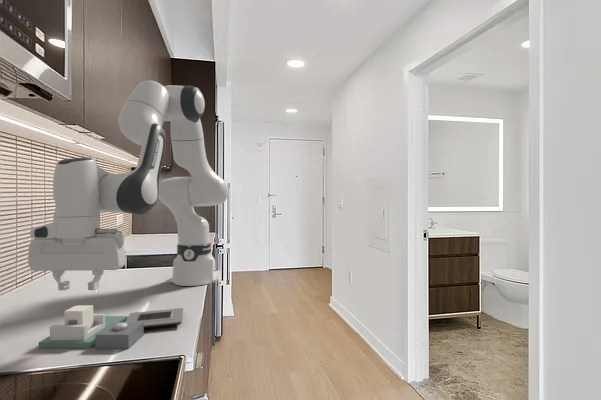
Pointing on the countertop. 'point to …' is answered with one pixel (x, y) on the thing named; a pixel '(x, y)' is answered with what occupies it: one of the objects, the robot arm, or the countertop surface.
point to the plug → (80, 316)
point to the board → (78, 333)
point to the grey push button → (119, 335)
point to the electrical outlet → (157, 318)
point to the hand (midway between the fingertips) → (78, 289)
